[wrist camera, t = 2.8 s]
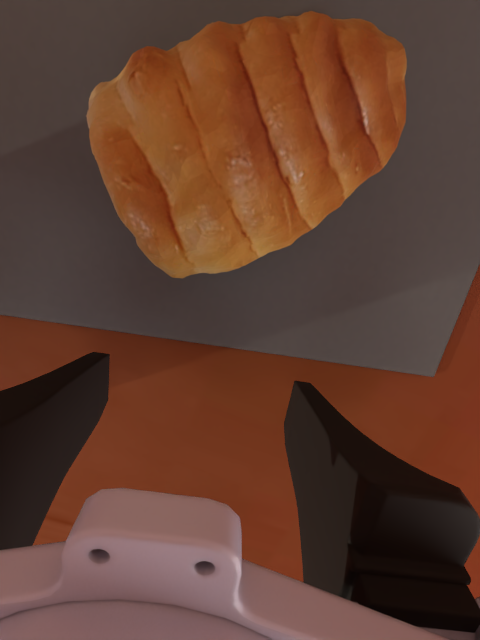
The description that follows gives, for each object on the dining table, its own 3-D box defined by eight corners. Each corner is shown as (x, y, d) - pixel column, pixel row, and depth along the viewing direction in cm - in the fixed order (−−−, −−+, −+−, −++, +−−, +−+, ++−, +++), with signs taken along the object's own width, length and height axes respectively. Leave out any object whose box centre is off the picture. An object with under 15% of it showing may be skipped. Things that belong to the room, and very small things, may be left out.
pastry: (361, -32, 11) (420, -132, 7) (409, 191, 13) (472, 197, 10) (87, 104, 12) (24, 75, 9) (175, 285, 14) (154, 321, 11)
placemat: (432, 375, 16) (433, 376, 16) (-35, 308, 15) (-37, 309, 15) (708, -309, 9) (713, -314, 9) (-141, -532, 8) (-146, -541, 8)
